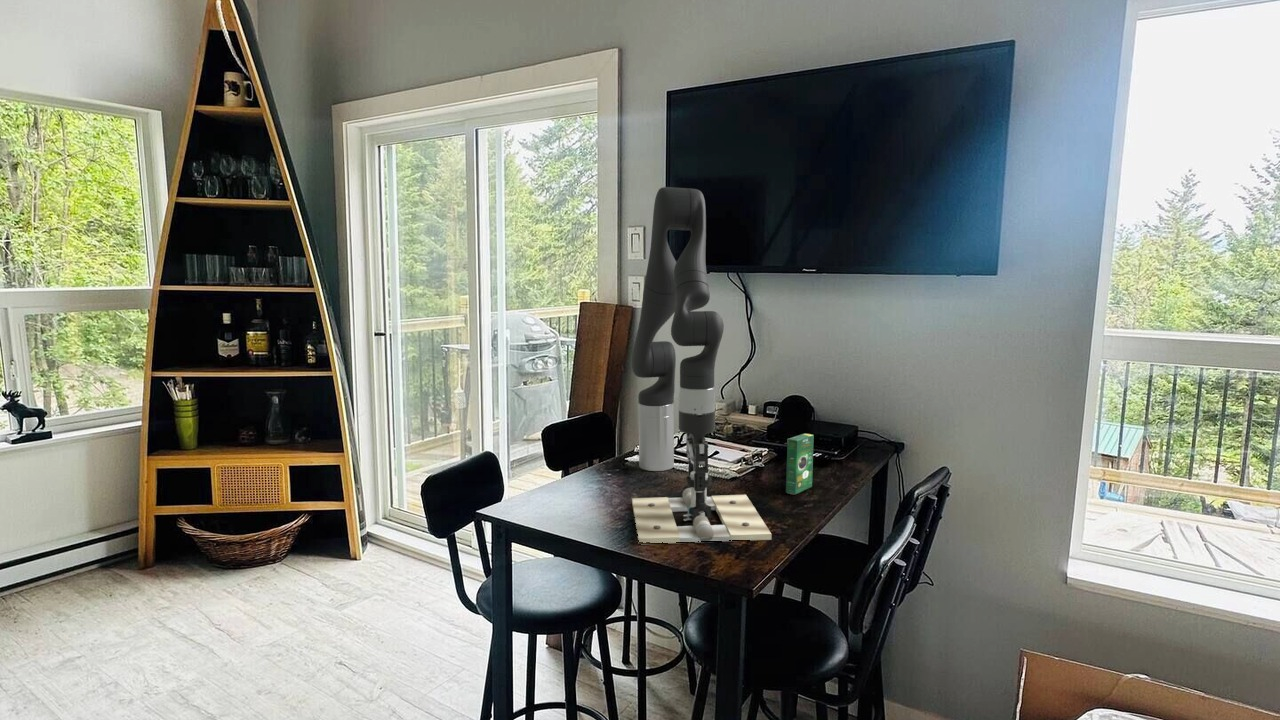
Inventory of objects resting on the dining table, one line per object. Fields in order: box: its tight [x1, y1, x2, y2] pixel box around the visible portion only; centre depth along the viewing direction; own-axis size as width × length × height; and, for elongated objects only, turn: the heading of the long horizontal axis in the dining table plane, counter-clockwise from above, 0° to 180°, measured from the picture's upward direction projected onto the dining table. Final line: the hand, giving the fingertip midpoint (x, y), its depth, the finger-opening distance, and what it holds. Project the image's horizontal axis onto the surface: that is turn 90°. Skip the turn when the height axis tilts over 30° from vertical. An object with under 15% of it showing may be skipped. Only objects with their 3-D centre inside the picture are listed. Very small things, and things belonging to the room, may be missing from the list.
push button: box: [682, 471, 713, 523], centre depth 148 cm, size 7×5×10 cm
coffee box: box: [785, 432, 815, 496], centre depth 166 cm, size 8×3×13 cm, turn 137°
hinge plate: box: [631, 487, 772, 544], centre depth 148 cm, size 23×26×3 cm
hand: (696, 483), depth 147 cm, fingers open, 8 cm apart
